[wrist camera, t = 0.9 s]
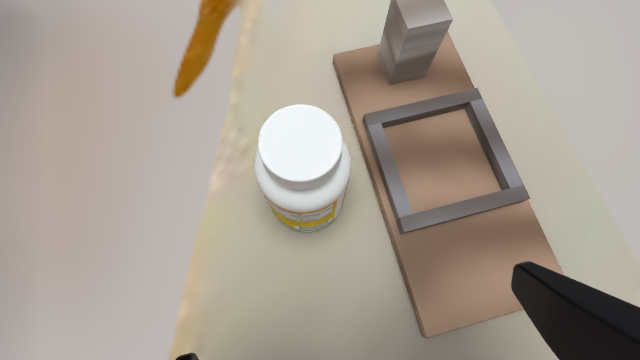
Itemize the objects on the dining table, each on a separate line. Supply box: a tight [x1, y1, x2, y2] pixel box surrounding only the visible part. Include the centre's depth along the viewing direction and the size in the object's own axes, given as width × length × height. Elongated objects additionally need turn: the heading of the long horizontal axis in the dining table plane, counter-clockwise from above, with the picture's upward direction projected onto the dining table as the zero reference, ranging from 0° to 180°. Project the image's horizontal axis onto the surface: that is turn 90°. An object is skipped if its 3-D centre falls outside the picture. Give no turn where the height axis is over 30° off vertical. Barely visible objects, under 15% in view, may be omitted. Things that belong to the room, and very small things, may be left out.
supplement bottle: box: [254, 104, 351, 232], centre depth 20 cm, size 5×5×10 cm
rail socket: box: [333, 0, 564, 338], centre depth 22 cm, size 22×10×7 cm, turn 15°
